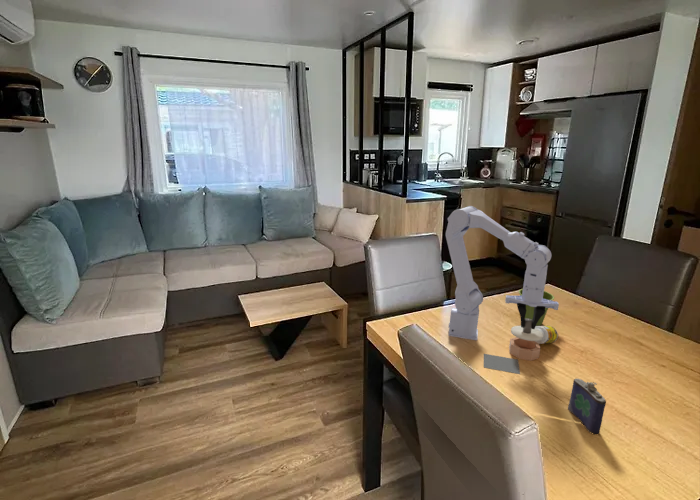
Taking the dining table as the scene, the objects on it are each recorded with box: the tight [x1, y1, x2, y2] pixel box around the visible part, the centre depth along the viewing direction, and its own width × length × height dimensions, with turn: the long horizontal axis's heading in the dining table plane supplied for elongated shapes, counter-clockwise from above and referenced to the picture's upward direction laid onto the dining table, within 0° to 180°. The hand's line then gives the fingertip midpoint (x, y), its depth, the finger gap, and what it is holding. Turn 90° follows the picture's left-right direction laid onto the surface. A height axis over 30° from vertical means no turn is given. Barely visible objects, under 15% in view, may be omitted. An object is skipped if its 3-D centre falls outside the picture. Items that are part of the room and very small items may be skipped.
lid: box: [510, 318, 543, 341], centre depth 118 cm, size 9×9×5 cm
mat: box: [483, 353, 521, 375], centre depth 115 cm, size 10×8×1 cm
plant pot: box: [518, 288, 555, 327], centre depth 141 cm, size 12×12×11 cm
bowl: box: [508, 336, 541, 361], centre depth 121 cm, size 8×8×4 cm
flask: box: [567, 378, 607, 435], centre depth 91 cm, size 9×3×11 cm, turn 8°
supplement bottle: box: [535, 325, 559, 345], centre depth 125 cm, size 6×6×10 cm
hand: (527, 326), depth 119 cm, fingers closed on lid, 2 cm apart
